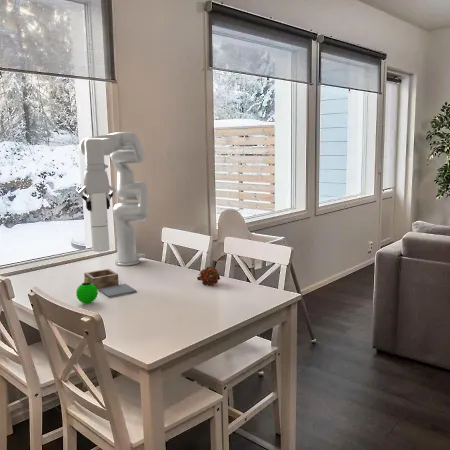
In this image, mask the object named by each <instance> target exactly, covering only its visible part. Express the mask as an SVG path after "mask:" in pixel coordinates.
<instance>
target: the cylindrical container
mask: <svg viewBox="0 0 450 450" xmlns="http://www.w3.org/2000/svg"><path fill="white" fill-rule="evenodd" d="M90 202H91V211H89V215H90V218H89V219H90V231H91V233H90V234H91V244H92V247H91V248H92V251H93V252H96V253H99V252H100V253H102V252H108V251H109V250H110V239H109V238H110V237H109V221H108V219H109V218H108V209H107V202H106V193H95V194H92V195H91V198H90Z"/></svg>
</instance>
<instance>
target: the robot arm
mask: <svg viewBox="0 0 450 450" xmlns="http://www.w3.org/2000/svg"><path fill="white" fill-rule="evenodd" d="M79 150H80V152H81V154H82V155H84V156H85V166H86V167H85V168H86V169H85V170H86V171H84V174H83V187H82V188H81V189H80V190H79V191H78V192H77V195H78V196H79V197H81V198H82V200H84V201H85V209H87V211H89V212H90V211H91V202H90V198H91V195H92V194H95V193H106V202H107V210H110V207H111V204H110V202H111V199H112V198H113V196H114V195H115V193H116V196H117V198H118V200H121V201H130V202H119V203H116V204H114V206H113V209H112V213H113V218H114V223H115V234H116V247H117V248H116V250H117V252H116V253H117V259H116V260H115V261H114V263H115V265H117V266H121V267H123V266H125V267H126V266H135V265H137V264H139V263H140V259H141V258H146V253H138V252H137V245H136V244H137V243H136V241H137V240H136V228H135V226H134V225H133V224H132V222H144V221H146V220H147V219H148V215H149V214H148V213H149V188H148V185H147V183H146V182H144V181H135V172H134V170H133V169H132V167H131V166H130V165H129V164H139V163H143V161H144V160H145V151H144V148H143V145H142V142H141V141H140V138H139V136H138V135H137V134H136V133H135V132H133V131H126V132H125V131H122V132H121V131H120V132H119V131H117V132H112V133H109V134H108V133H107V134H103V135H102V134H101V135H97V136H96V135H95V136H90V137H85V138H83V139H82V140H81V141H80V142H79ZM106 156H110V159H111V162H112V164H113V166H114V168H115V170H116V189H115V188H114V187H112V185H110V181H109V175H108V172H107V170H106V169H108V168H109V166H108V164H105V157H106ZM85 195H86V196H85ZM131 201H137V202H131Z"/></svg>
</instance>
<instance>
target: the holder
mask: <svg viewBox="0 0 450 450" xmlns="http://www.w3.org/2000/svg"><path fill="white" fill-rule="evenodd" d="M83 274H84V276H83V277H84V278H88V282H90V283H92V284H93V285H95V286H96V288H97V290H99V289H100V288H105V287H110V286H116V285H120V283H119V282H120V281H119V274H118V273H117V272H115V271H114V270H112V269H110V268H105V269H99V270H94V271H87V272H84V273H83ZM85 281H87V280H85Z"/></svg>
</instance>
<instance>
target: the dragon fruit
mask: <svg viewBox="0 0 450 450" xmlns="http://www.w3.org/2000/svg"><path fill="white" fill-rule="evenodd" d="M220 276H221V275H220V274H219V272H218V270H217V269H216V268H214V267H213V266H207V267H206V268H203V269H202V270H200V271H199V274H198V276H196V279H197V281H201V283H202V284H203V285H204V286H206V285H208V286H210V287H213V286H215V285H216V284H218V281H219V280H221V278H220Z"/></svg>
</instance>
